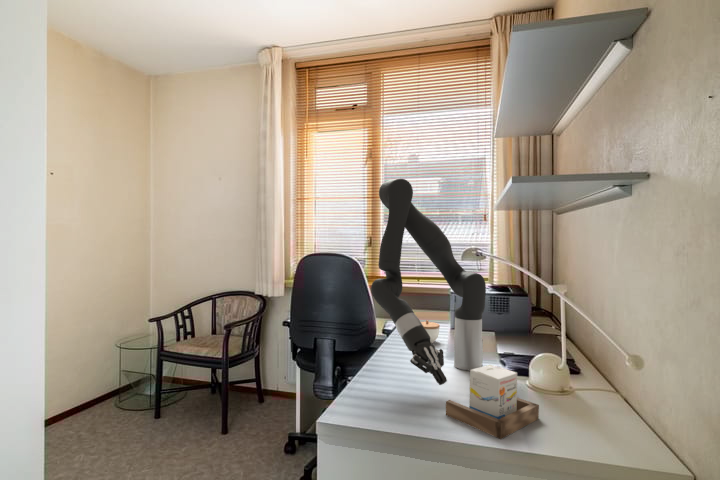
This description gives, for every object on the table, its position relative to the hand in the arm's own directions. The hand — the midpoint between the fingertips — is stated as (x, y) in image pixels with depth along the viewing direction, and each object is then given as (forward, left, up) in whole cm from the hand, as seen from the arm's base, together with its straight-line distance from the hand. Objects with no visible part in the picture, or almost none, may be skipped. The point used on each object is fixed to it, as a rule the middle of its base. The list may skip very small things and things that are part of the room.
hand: (443, 383), depth 113 cm
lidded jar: (-44, -45, -4) cm, 63 cm away
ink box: (0, +16, -4) cm, 16 cm away
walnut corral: (0, +15, -4) cm, 15 cm away
